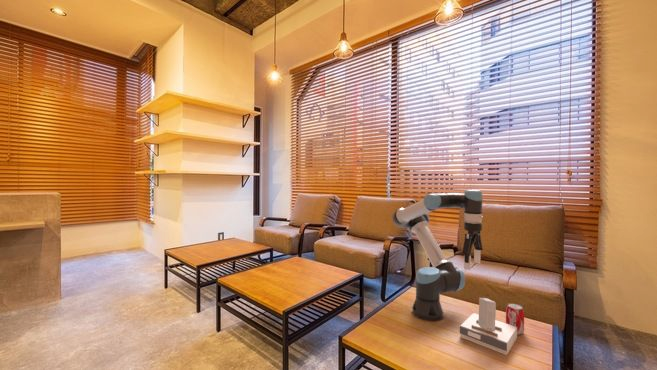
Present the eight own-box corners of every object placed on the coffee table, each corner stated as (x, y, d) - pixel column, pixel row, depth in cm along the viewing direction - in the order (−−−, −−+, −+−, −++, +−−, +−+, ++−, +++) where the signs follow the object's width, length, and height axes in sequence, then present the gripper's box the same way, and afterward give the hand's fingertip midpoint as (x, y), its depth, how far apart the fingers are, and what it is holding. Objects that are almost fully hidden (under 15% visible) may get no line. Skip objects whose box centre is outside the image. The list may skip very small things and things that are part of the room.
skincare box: (495, 332, 118) (497, 302, 119) (485, 330, 118) (487, 301, 119) (486, 326, 124) (488, 298, 125) (476, 324, 124) (479, 297, 125)
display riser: (459, 337, 124) (459, 324, 123) (473, 323, 136) (473, 310, 136) (506, 356, 111) (506, 341, 111) (516, 338, 123) (517, 324, 123)
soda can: (526, 336, 124) (527, 310, 124) (509, 334, 126) (509, 308, 126) (519, 328, 131) (519, 303, 131) (503, 326, 133) (503, 301, 132)
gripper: (472, 226, 122) (471, 274, 122) (489, 220, 139) (489, 262, 140) (454, 224, 127) (454, 270, 128) (473, 218, 145) (473, 259, 145)
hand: (472, 266), depth 134 cm, fingers open, 13 cm apart
